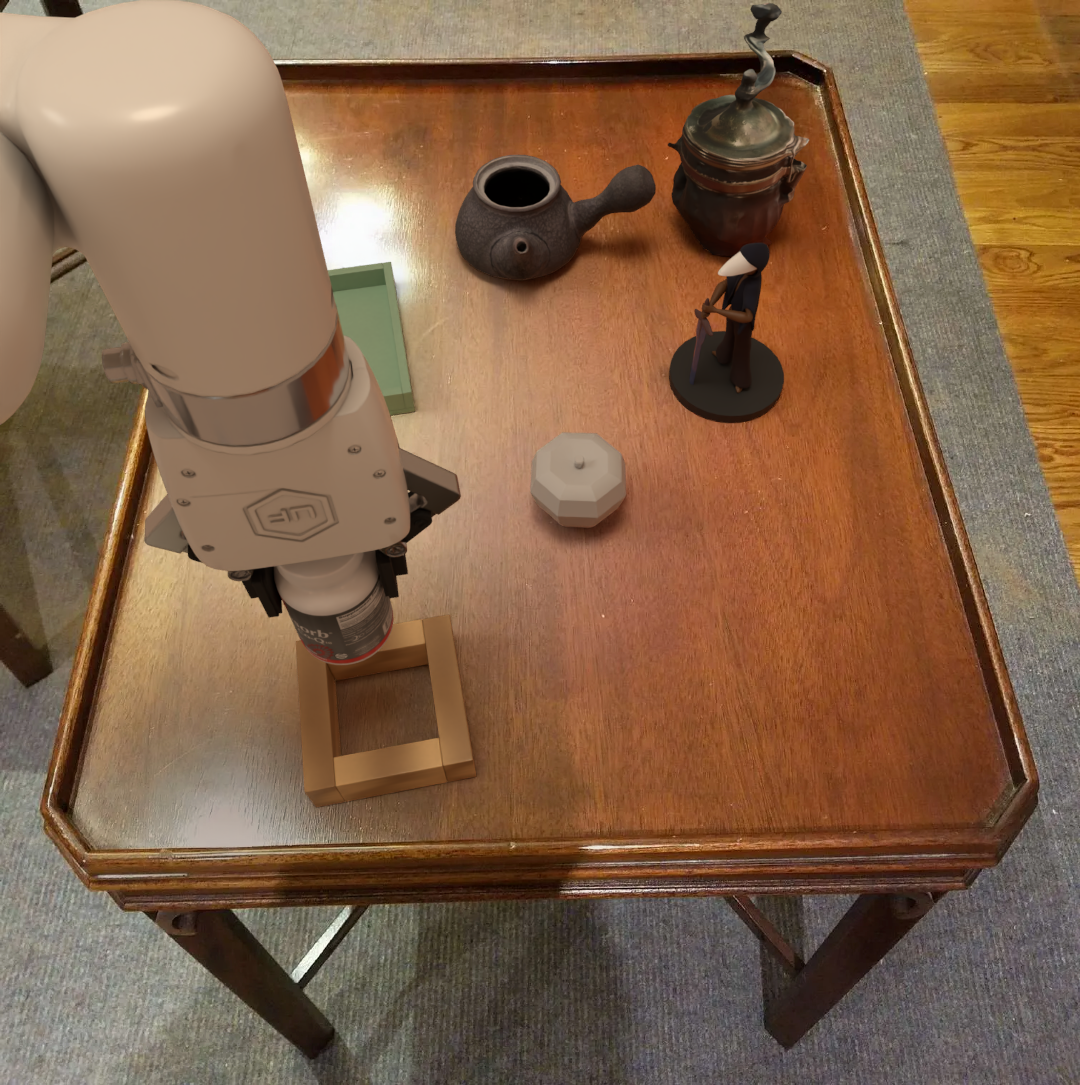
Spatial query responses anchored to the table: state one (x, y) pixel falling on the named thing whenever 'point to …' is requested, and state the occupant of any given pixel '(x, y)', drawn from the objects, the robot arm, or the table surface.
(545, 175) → the teapot
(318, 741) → the holder
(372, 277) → the tray
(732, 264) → the figurine
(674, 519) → the table surface
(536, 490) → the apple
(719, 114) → the coffee grinder
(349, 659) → the pill bottle
